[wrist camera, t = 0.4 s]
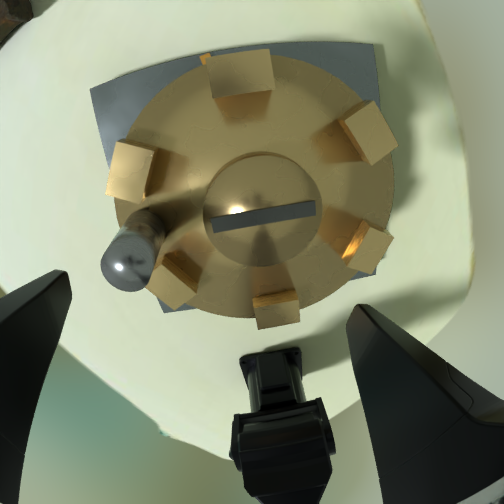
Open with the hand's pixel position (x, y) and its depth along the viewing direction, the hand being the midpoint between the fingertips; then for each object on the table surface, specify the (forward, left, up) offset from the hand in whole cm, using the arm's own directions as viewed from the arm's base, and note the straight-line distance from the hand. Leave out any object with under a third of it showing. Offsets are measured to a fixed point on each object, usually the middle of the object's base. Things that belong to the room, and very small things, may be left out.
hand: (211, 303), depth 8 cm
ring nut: (-1, -2, -11) cm, 11 cm away
